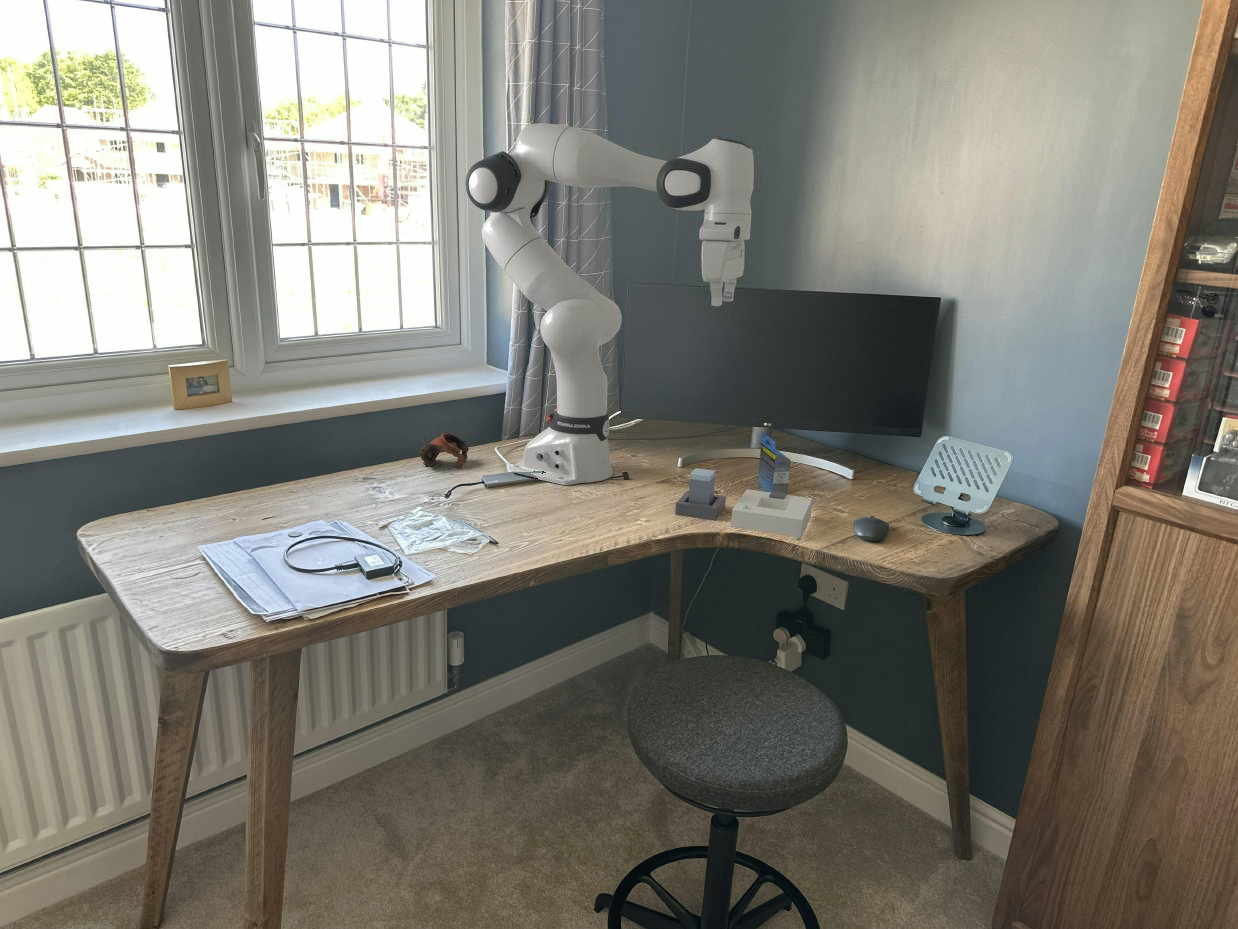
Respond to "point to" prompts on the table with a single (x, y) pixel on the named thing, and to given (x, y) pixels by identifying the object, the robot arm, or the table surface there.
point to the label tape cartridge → (773, 467)
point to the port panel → (772, 513)
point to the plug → (702, 486)
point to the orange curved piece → (444, 449)
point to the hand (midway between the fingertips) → (722, 303)
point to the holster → (700, 508)
